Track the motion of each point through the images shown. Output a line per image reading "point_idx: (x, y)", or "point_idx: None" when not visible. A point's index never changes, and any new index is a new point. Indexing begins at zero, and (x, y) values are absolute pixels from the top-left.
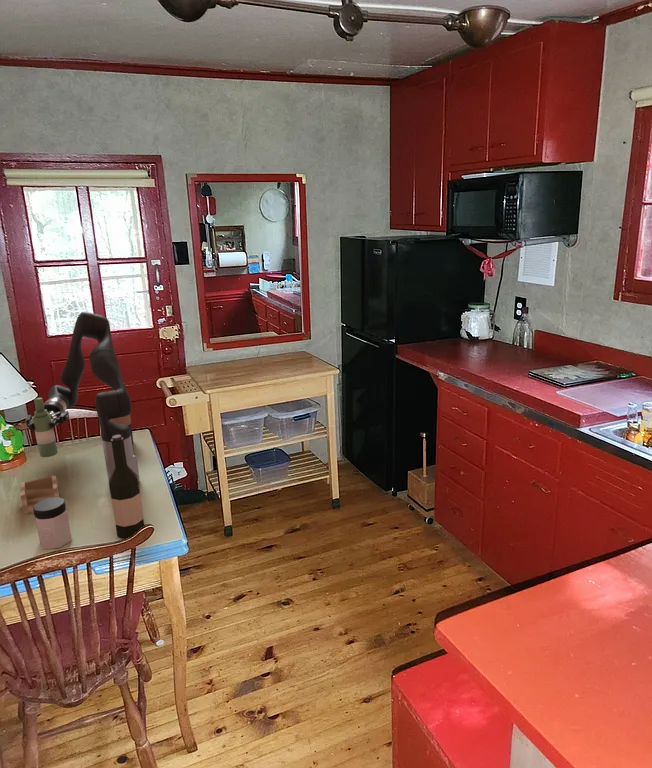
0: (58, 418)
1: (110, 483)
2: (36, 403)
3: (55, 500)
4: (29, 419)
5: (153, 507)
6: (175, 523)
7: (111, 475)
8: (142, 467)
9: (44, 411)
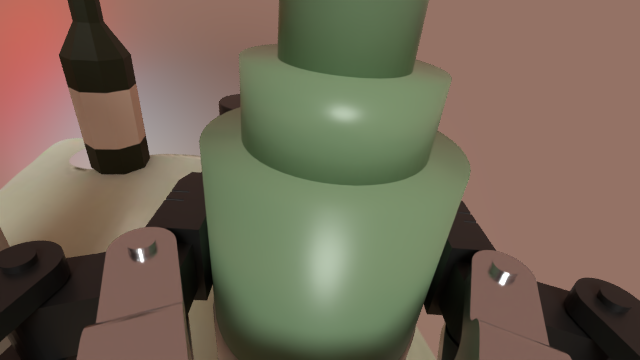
0: (86, 275)
1: (126, 50)
2: None
3: (235, 104)
4: (593, 311)
5: (25, 206)
6: (35, 160)
7: (115, 44)
8: None
9: (277, 48)
